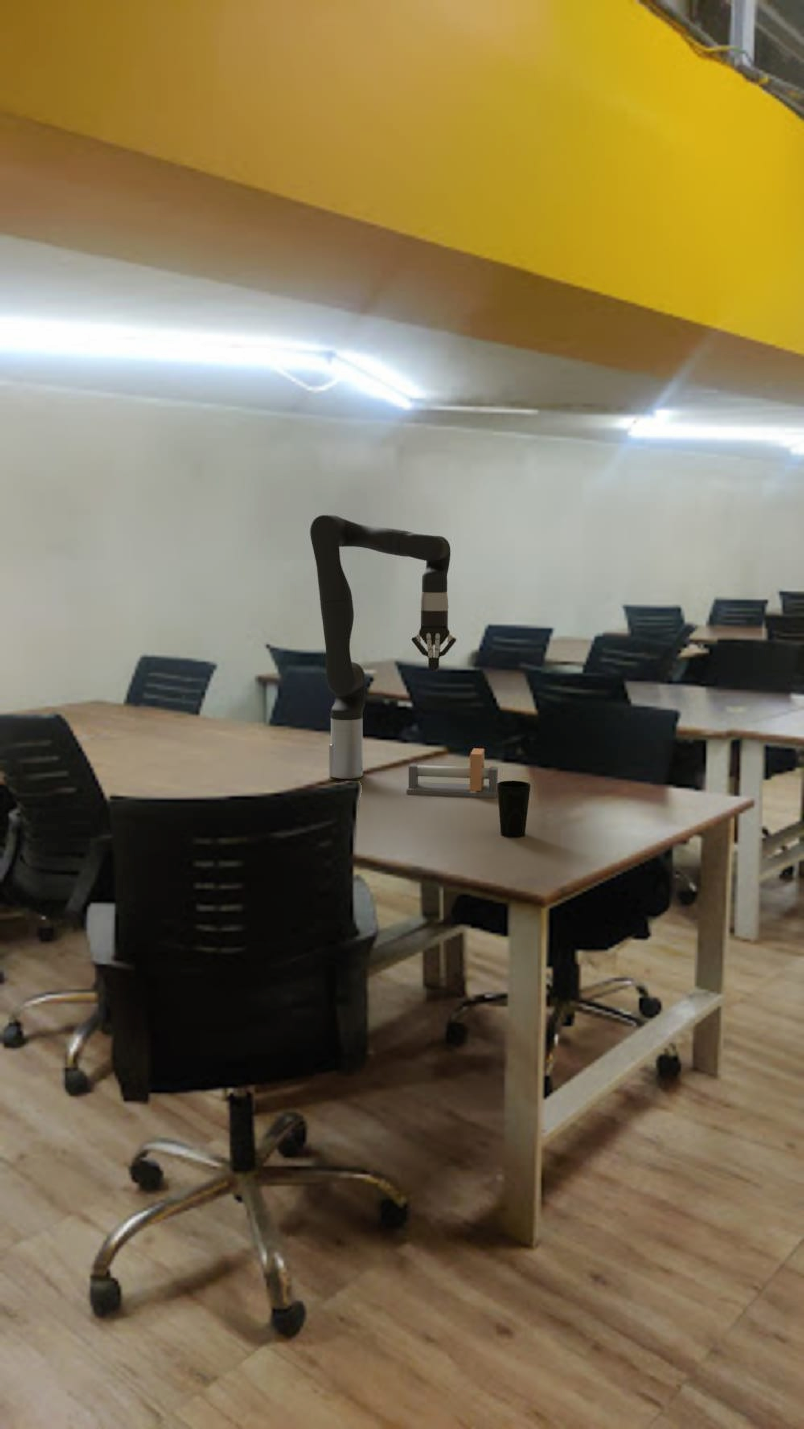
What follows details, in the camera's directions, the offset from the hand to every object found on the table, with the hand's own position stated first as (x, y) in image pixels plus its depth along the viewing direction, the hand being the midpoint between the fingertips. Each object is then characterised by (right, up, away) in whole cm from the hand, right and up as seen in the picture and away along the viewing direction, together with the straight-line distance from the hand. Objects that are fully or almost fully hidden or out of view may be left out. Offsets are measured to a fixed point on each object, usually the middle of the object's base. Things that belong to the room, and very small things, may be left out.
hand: (433, 670), depth 286 cm
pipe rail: (+5, -33, -6) cm, 34 cm away
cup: (+17, -40, -48) cm, 65 cm away
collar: (+12, -32, -7) cm, 35 cm away
